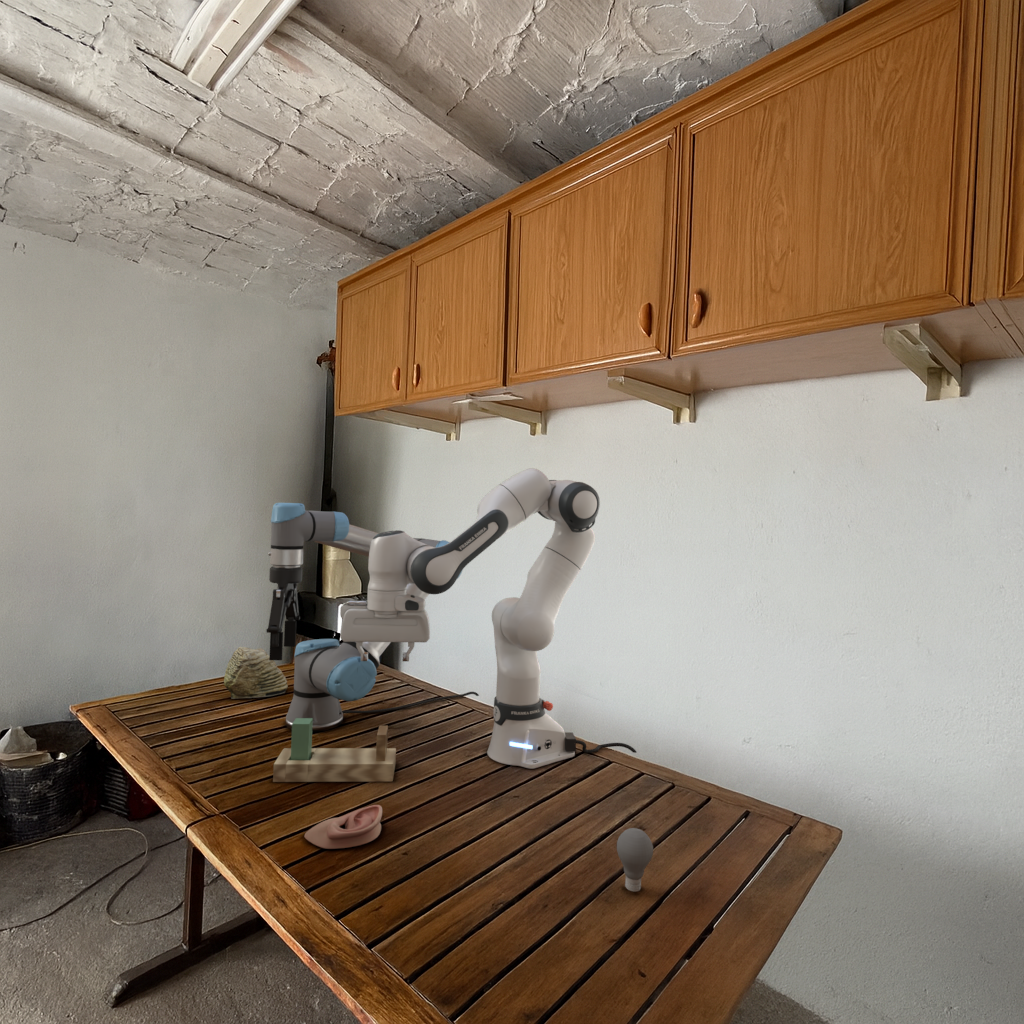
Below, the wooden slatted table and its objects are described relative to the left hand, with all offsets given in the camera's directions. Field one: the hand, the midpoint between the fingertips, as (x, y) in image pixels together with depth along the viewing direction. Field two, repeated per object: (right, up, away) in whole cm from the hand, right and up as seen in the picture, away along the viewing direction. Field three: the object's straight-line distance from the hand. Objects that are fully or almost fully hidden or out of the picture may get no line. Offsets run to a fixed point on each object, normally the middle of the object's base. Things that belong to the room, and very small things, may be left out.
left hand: (283, 652), depth 154 cm
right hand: (+27, 0, -8) cm, 28 cm away
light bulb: (+76, -29, -49) cm, 95 cm away
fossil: (-24, -23, +43) cm, 55 cm away
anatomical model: (+24, -26, -35) cm, 50 cm away
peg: (+8, -25, -10) cm, 28 cm away
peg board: (+16, -26, -9) cm, 31 cm away
